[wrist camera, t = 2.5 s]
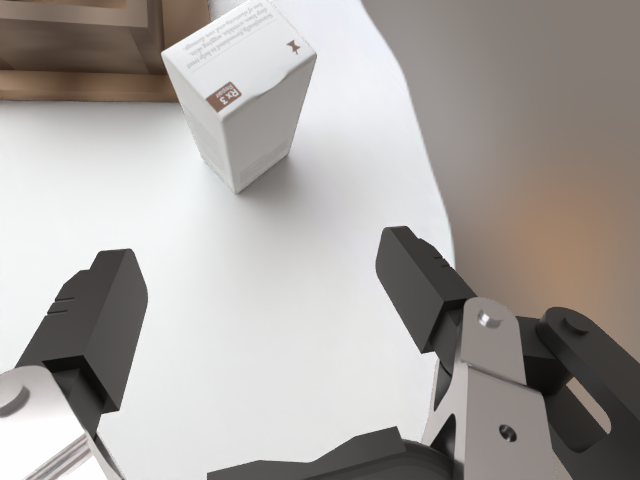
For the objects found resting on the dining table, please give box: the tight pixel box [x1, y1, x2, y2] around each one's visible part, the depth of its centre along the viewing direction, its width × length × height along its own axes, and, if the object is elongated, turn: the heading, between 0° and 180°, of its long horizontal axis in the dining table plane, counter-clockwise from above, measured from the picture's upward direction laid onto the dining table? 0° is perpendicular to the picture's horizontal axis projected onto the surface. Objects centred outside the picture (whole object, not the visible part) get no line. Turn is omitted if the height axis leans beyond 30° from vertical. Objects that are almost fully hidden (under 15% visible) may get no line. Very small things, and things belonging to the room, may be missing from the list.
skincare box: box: [161, 0, 317, 194], centre depth 20 cm, size 6×4×12 cm
